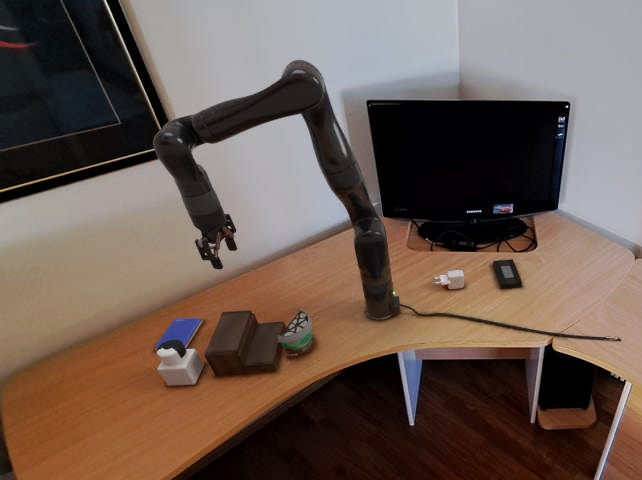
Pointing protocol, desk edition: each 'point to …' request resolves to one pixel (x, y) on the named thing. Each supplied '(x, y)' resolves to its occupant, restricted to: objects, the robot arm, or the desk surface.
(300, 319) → the food container
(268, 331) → the desk shelf
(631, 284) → the desk surface
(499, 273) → the vhs tape
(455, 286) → the power adapter
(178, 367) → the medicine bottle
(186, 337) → the hard drive
